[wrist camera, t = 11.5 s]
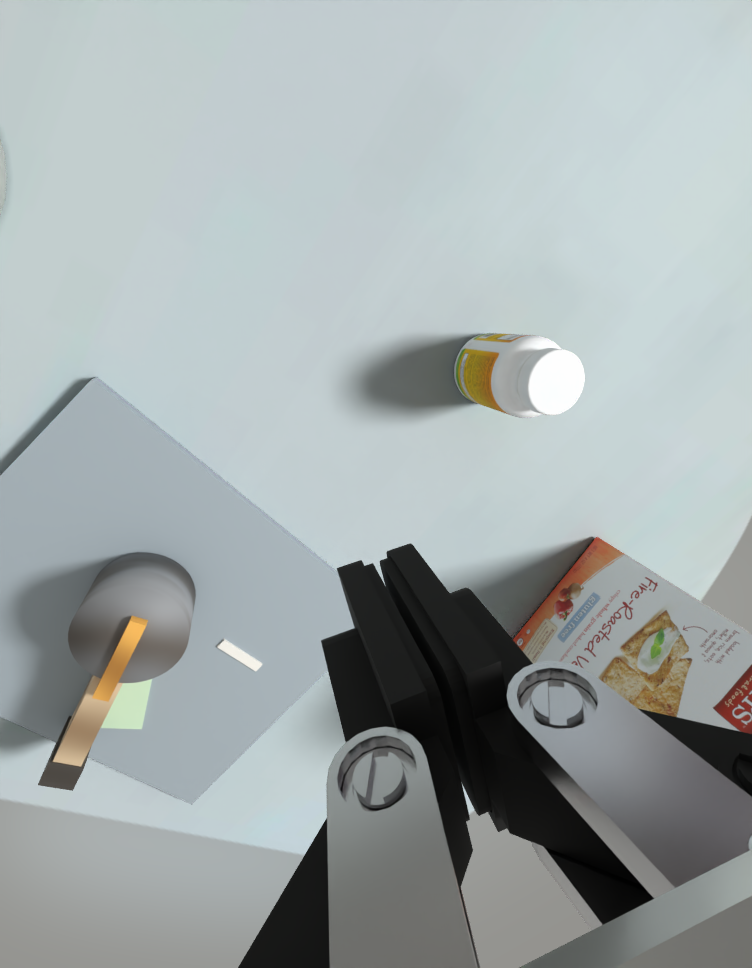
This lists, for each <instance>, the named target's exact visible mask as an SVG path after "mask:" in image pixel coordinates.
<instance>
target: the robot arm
mask: <svg viewBox="0 0 752 968" xmlns="http://www.w3.org/2000/svg"><path fill="white" fill-rule="evenodd" d="M6 185H7V172H6V163H5V154H4V150H3V147H2V143H1V140H0V215H1V211H2V208H3V205H4V202H5V196H6ZM380 566H381V570H382V574H383V578H384V582H385V585H384V583H383V581H382V579H381V577H380V576H379V574H378V572H377V570H376V568H375V566H374V565H373V563H372V564H369V565H366V566H364V564H363V562H362V561H361V560H360V561H357V562H354V563H351V564H348V565H345V566H342V567H339V568H337V571H338V574H339V578H340V581H341V584H342V588H343V591H344V594H345V598H346V601H347V604H348V608H349V611H350V614H351V618H352V621H353V625H354V628H353V629H350V630H348V631H345V632H342V633H339V634H337V635H334V636H331V637H328V638H326V639H323V640H321V643H322V648H323V652H324V656H325V660H326V664H327V668H328V672H329V676H330V680H331V684H332V688H333V692H334V696H335V700H336V704H337V708H338V712H339V716H340V720H341V725H342V729H343V733H344V737H345V741H346V743H345V744H344V745H343V746H342V748H341V749H340V750H339V751H338V752H337V754H336V755H335V757H334V759H333V761H332V763H331V765H330V767H329V770H328V777H327V784H326V785H327V819H326V820H325V822H324V824H323V825H322V827H321V829H320V830H319V832H318V834H317V835H316V837H315V839H314V841H313V842H312V844H311V846H310V847H309V849H308V851H307V852H306V854H305V856H304V857H303V859H302V861H301V862H300V864H299V866H298V868H297V869H296V871H295V873H294V875H293V876H292V878H291V879H290V881H289V883H288V885H287V886H286V888H285V889H284V891H283V893H282V895H281V896H280V898H279V900H278V902H277V903H276V905H275V906H274V908H273V910H272V911H271V913H270V915H269V917H268V918H267V920H266V922H265V923H264V925H263V927H262V928H261V930H260V932H259V934H258V935H257V937H256V939H255V940H254V942H253V943H252V945H251V947H250V949H249V950H248V952H247V954H246V955H245V957H244V959H243V960H242V962H241V964H240V965H239V967H238V968H480V963H479V959H478V955H477V951H476V947H475V943H474V939H473V935H472V930H471V927H470V923H469V918H468V914H467V910H466V906H465V902H464V898H463V894H462V890H461V884H462V881H463V878H464V875H465V872H466V869H467V866H468V863H469V860H470V857H471V854H472V851H473V849H472V845H471V841H470V836H469V832H468V828H467V824H466V821H468V820H470V819H469V813H468V809H467V805H466V800H465V796H464V792H463V787H462V784H463V786H464V788H465V790H466V792H467V795H468V797H469V799H470V801H471V803H472V805H473V807H474V809H475V811H476V813H477V814H478V815H479V816H480V815H481V814H484V813H486V812H489V815H490V817H491V819H492V820H493V823H494V825H495V827H496V828H497V831H498V832H500V831H502V830H504V829H506V828H507V829H508V830H509V832H510V833H511V834H513V835H516V836H519V837H521V838H523V839H526V840H528V841H531V843H532V846H533V848H534V850H535V852H536V854H537V855H538V857H539V859H540V861H541V862H542V863H543V865H544V866H545V867H546V869H547V870H548V871H549V873H550V874H551V876H552V877H553V878H554V880H555V881H556V882H557V884H558V885H559V886H560V888H561V889H562V891H563V892H564V893H565V895H566V896H567V898H568V899H569V900H570V902H571V903H572V904H573V906H574V907H575V909H576V910H577V911H578V913H579V914H580V915H581V917H582V918H583V919H584V921H585V922H586V924H587V925H588V926H589V928H590V929H591V930H592V931H590V932H588V933H586V934H584V935H582V936H581V937H578V938H576V939H574V940H573V941H571V942H569V943H567V944H565V945H563V946H561V947H559V948H557V949H555V950H553V951H551V952H549V953H547V954H545V955H543V956H541V957H539V958H537V959H535V960H533V961H532V962H529V963H528V964H526V965H524V966H522V967H520V968H752V734H749V733H745V732H740V731H736V730H731V729H727V728H723V727H718V726H714V725H709V724H705V723H700V722H696V721H692V720H687V719H683V718H678V717H674V716H669V715H665V714H661V713H656V712H652V711H647V710H643V709H638V708H636V707H635V706H634V705H632V704H631V703H630V702H628V701H627V700H626V699H625V698H623V697H622V696H621V695H619V694H618V693H617V692H616V691H614V690H613V689H612V688H610V687H609V686H608V685H606V684H605V683H604V682H603V681H601V680H600V679H599V678H597V677H596V676H595V675H594V674H592V673H590V672H589V671H587V670H585V669H583V668H582V667H580V666H577V665H574V664H570V663H567V662H560V661H545V662H537V663H534V664H533V663H532V662H531V661H530V659H529V658H528V657H527V656H526V655H525V654H524V652H523V651H522V650H521V649H520V648H519V646H518V645H517V644H516V643H515V642H514V641H513V639H512V638H511V637H510V636H509V635H508V633H507V632H506V631H505V630H504V629H503V628H502V626H501V625H500V624H499V623H498V622H497V621H496V619H495V618H494V617H493V616H492V615H491V613H490V612H489V611H488V610H487V609H486V608H485V606H484V605H483V604H482V603H481V602H480V600H479V599H478V598H477V597H476V596H475V595H474V593H473V592H472V591H471V590H470V589H468V588H464V589H461V590H458V591H455V592H453V593H449V592H448V591H447V589H446V588H445V587H444V586H443V584H442V583H441V582H440V580H439V579H438V578H437V576H436V575H435V574H434V572H433V571H432V570H431V568H430V567H429V566H428V565H427V563H426V562H425V561H424V559H423V558H422V557H421V555H420V554H419V553H418V551H417V550H416V549H415V547H414V546H413V545H412V544H407V545H404V546H401V547H398V548H395V549H392V550H390V551H387V559H384V560H381V561H380ZM385 586H386V587H385ZM461 782H462V783H461Z"/></svg>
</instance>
